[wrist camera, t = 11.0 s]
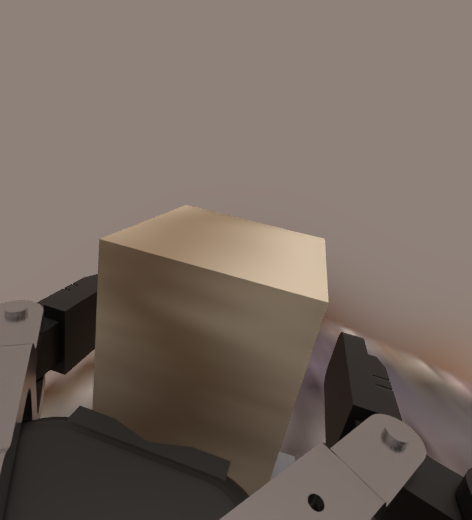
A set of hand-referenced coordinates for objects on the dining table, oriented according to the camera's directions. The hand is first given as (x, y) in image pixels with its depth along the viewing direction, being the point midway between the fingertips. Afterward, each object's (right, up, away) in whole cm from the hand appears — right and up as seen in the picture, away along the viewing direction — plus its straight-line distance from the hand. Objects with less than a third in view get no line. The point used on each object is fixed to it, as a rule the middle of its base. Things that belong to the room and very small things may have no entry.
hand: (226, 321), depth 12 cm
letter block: (-2, -8, +1) cm, 8 cm away
